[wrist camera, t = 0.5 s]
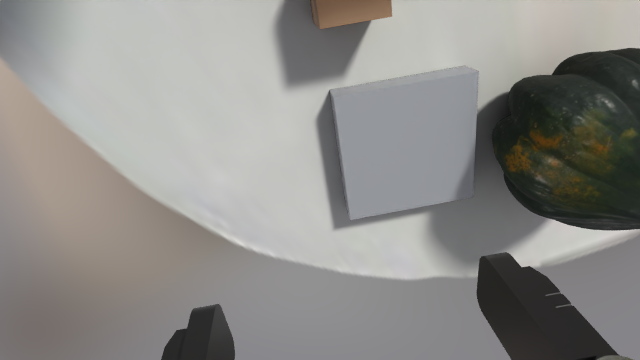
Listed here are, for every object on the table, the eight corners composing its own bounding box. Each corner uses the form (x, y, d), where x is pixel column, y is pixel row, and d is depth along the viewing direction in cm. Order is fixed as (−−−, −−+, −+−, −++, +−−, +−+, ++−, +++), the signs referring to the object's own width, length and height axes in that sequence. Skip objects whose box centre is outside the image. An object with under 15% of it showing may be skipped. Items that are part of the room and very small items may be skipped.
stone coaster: (329, 90, 32) (333, 97, 30) (464, 65, 33) (478, 71, 30) (346, 206, 38) (350, 220, 36) (461, 185, 38) (473, 197, 36)
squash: (575, -11, 26) (638, 197, 20) (735, 33, 29) (827, 223, 23) (456, 101, 38) (473, 248, 33) (576, 124, 42) (610, 260, 36)
